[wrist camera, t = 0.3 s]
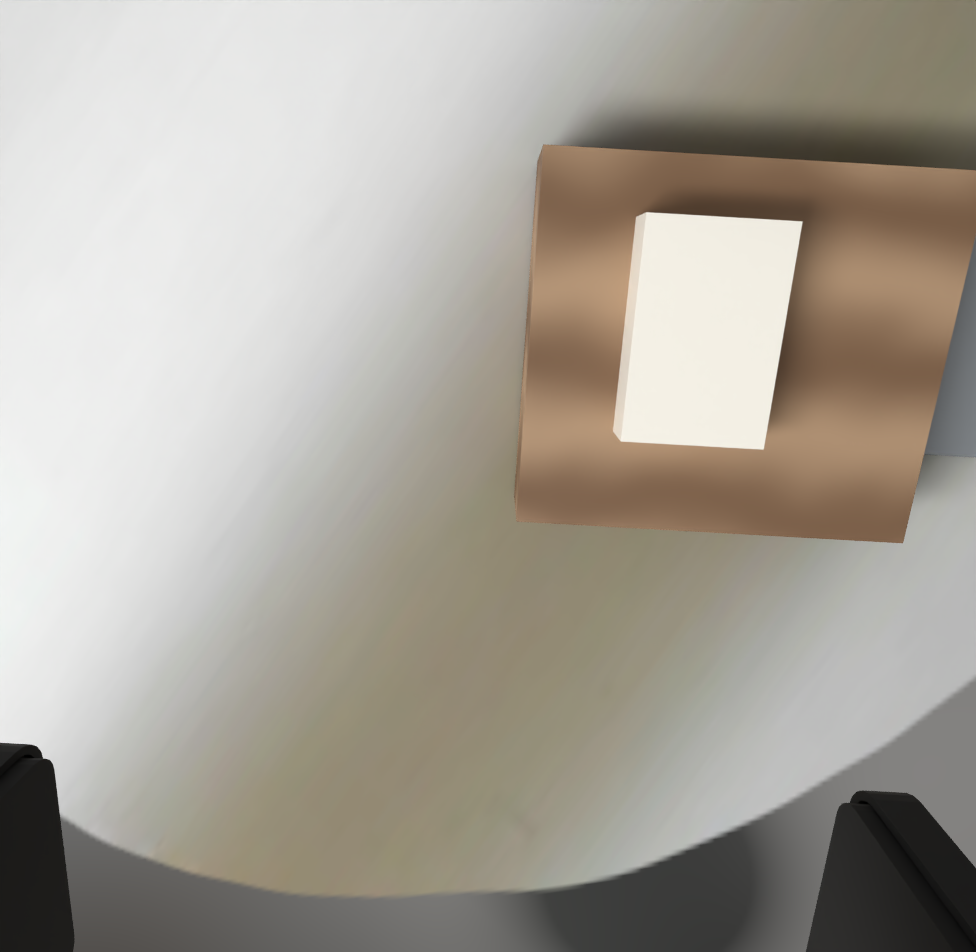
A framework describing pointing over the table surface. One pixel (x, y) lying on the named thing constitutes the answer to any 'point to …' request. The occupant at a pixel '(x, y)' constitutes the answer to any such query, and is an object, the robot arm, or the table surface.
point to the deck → (803, 357)
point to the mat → (958, 381)
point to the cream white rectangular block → (704, 329)
